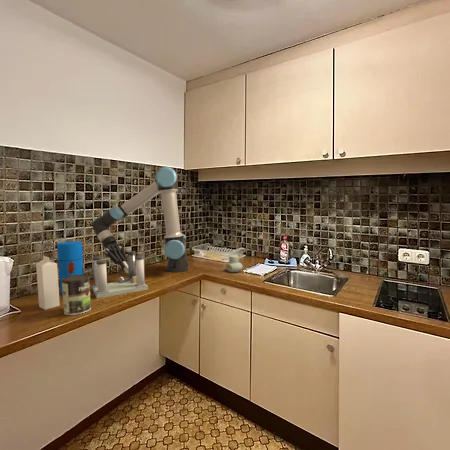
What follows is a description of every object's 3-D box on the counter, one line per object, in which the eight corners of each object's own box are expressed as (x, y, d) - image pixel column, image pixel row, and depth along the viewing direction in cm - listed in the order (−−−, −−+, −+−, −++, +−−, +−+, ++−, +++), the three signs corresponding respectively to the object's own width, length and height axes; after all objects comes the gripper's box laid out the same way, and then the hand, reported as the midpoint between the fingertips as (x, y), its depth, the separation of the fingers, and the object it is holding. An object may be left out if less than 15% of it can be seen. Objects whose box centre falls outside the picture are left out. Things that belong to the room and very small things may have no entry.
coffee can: (96, 306, 123) (94, 274, 122) (79, 316, 113) (77, 281, 112) (75, 305, 125) (73, 273, 124) (57, 314, 115) (55, 280, 114)
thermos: (60, 297, 136) (57, 245, 133) (59, 291, 145) (56, 242, 142) (85, 293, 141) (83, 243, 139) (83, 287, 150) (80, 240, 148)
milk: (53, 303, 128) (50, 254, 126) (59, 305, 125) (57, 256, 123) (38, 307, 123) (35, 256, 122) (44, 310, 120) (41, 258, 118)
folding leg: (133, 277, 161) (132, 250, 159) (138, 278, 158) (137, 251, 157) (116, 281, 152) (115, 254, 150) (121, 283, 149) (120, 254, 148)
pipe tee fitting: (244, 272, 179) (244, 256, 178) (234, 274, 174) (233, 258, 173) (233, 268, 188) (233, 253, 187) (223, 270, 183) (223, 255, 182)
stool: (139, 281, 160) (138, 251, 158) (147, 289, 146) (146, 256, 144) (92, 289, 147) (90, 256, 145) (97, 298, 133) (95, 262, 132)
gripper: (113, 241, 172) (134, 272, 166) (94, 245, 161) (116, 278, 155) (119, 233, 169) (140, 265, 163) (100, 237, 158) (122, 271, 152)
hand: (128, 271), depth 159 cm, fingers closed
